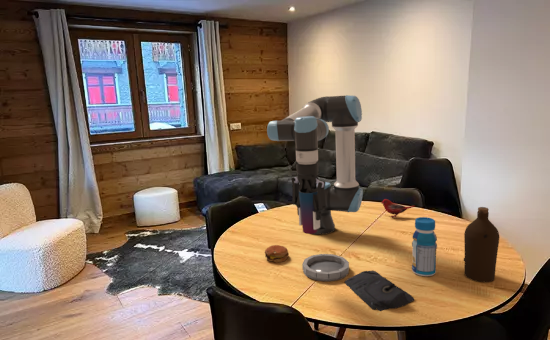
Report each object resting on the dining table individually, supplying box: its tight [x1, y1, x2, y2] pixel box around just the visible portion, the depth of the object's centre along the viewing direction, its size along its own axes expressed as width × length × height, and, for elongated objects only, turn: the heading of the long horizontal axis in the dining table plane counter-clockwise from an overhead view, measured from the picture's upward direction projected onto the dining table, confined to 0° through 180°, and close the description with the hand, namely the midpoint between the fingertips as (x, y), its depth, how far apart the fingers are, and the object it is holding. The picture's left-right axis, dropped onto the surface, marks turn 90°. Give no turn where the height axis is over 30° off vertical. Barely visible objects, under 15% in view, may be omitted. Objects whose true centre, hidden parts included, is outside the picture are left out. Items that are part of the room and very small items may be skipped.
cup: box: [299, 188, 317, 235], centre depth 132 cm, size 7×7×15 cm
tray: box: [301, 253, 350, 282], centre depth 142 cm, size 17×17×3 cm
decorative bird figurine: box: [380, 198, 416, 218], centre depth 199 cm, size 3×18×10 cm, turn 82°
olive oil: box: [463, 206, 500, 283], centre depth 131 cm, size 11×11×25 cm
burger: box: [264, 244, 289, 264], centre depth 156 cm, size 10×9×5 cm
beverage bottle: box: [411, 216, 438, 277], centre depth 136 cm, size 8×8×20 cm
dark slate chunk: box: [344, 269, 415, 312], centre depth 126 cm, size 15×22×5 cm
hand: (309, 226), depth 133 cm, fingers closed on cup, 6 cm apart
